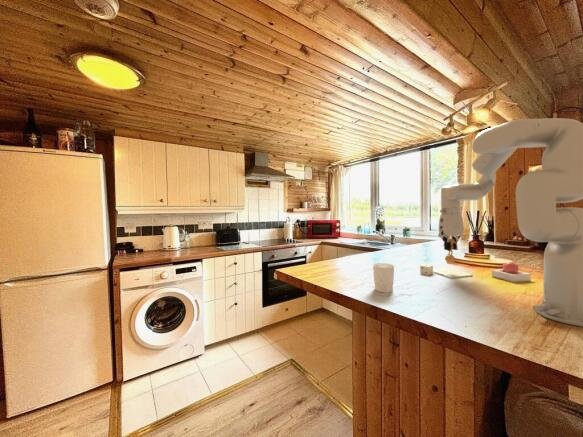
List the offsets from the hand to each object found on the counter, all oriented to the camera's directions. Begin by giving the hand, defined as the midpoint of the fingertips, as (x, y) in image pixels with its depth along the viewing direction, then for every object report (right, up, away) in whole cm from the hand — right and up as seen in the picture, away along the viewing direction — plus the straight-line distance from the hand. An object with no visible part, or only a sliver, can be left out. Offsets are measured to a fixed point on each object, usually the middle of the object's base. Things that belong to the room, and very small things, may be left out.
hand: (450, 249), depth 113 cm
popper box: (+20, -12, -9) cm, 25 cm away
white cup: (-40, -14, -19) cm, 46 cm away
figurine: (+2, -6, +1) cm, 7 cm away
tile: (0, -12, 0) cm, 12 cm away
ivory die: (-10, -12, +3) cm, 16 cm away
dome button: (+20, -9, -9) cm, 24 cm away
